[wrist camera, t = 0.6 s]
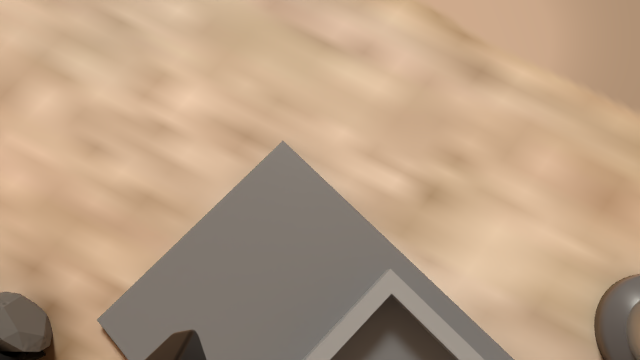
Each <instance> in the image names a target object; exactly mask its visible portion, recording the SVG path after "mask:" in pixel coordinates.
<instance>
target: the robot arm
mask: <svg viewBox="0 0 640 360" xmlns="http://www.w3.org/2000/svg"><path fill="white" fill-rule="evenodd" d="M145 360H207V359H206V356H205V353H204V350H203V347H202V344H201V341H200V338H199V336H198V334H197V332H196V331H195V330H193V329H191V330H186V331H180V332H175V333H173V334H172V335H170V336H169V337H168V338H167V339H166V340H165V341H164V342H163V343H162V344H161V345H160V346H159V347H158V348H157V349H156V350H154V351H153V352H152V353H151V354H150V355H149V356H148V357H147V358H146V359H145Z"/></svg>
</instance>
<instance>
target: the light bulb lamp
mask: <svg viewBox="0 0 640 360" xmlns="http://www.w3.org/2000/svg"><path fill="white" fill-rule="evenodd" d="M594 328H595V336H596V341H597V344H598V347H599V350H600V352H601V355H602V357H603V359H604V360H640V274H637V275H632V276H629V277H626V278H623V279H621V280H619V281H618V282H616V283H615V284H613V285H612V286H611V287H610V288H609V289H608V290H607V291H606V292H605V293H604V295H603V296H602V298H601V300H600V302H599V304H598V307H597V310H596V314H595V324H594Z"/></svg>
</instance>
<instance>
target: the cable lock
mask: <svg viewBox="0 0 640 360" xmlns="http://www.w3.org/2000/svg"><path fill="white" fill-rule="evenodd" d="M52 334H53V333H52V328H51V324H50V322H49V319H48V316H47V314H46V313H45V312H44V311H43V310H42V309H41V308H40V307H39V306H38V305H37V304H35V303H34V302H32V301H30V300H29V299H27V298H26V297H24V296H22V295H21V294H17V293H10V292H2V293H0V360H37V359H39V358H41V357H43V356H44V355H45V353H44V351H43V349H45V348H47V347H49V346H50V343H51V338H52Z"/></svg>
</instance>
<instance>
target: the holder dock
mask: <svg viewBox="0 0 640 360" xmlns="http://www.w3.org/2000/svg"><path fill="white" fill-rule="evenodd" d="M97 321H98V322H99V323H100V325H101V326H102V327H103V328H104V330H105V331H106V332H107V334H108V335H109V336H110V337H111V339H112V340H113V341H114V342H115V344H116V345H117V346H118V347H119V349H120V350H121V351H122V352H123V354H124V355H125V356H126V358H127V359H128V360H145V359H146V358H147V357H148V356H149V355H150V354H151V353H152V352H153V351H154V350H156V349H157V348H158V347H159V346H160V345H161V344H162V343H163V342H164V341H165V340H166V339H167V338H168V337H169V336H170V335H172V334H173V333H175V332H180V331H186V330H191V329H193V330H195V331H196V332H197V334H198V336H199V338H200V341H201V344H202V347H203V350H204V353H205V356H206V359H207V360H514V359H513V358H512V357H511V356H510V355H509V354H508V353H507V352H505V351H504V350H503V349H502V348H501V347H500V346H499V345H498V344H497V343H496V342H495V341H494V340H493V339H492V338H491V337H490V336H489V335H488V334H486V333H485V332H484V331H483V330H482V329H481V328H480V327H479V326H478V325H477V324H476V323H475V322H474V321H473V320H472V319H471V318H470V317H469V316H467V315H466V314H465V313H464V312H463V311H462V310H461V309H460V308H459V307H458V306H457V305H456V304H455V303H454V302H453V301H452V300H451V299H450V298H448V297H447V296H446V295H445V294H444V293H443V292H442V291H441V290H440V289H439V288H438V287H437V286H436V285H435V284H434V283H433V282H432V281H431V280H429V279H428V278H427V277H426V276H425V275H424V274H423V273H422V272H421V271H420V270H419V269H418V268H417V267H416V266H415V265H414V264H413V263H412V262H410V261H409V260H408V259H407V258H406V257H405V256H404V255H403V254H402V253H401V252H400V251H399V250H398V249H397V248H396V247H395V246H394V245H393V244H391V243H390V242H389V241H388V240H387V239H386V238H385V237H384V236H383V235H382V234H381V233H380V232H379V231H378V230H377V229H376V228H375V227H374V226H372V225H371V224H370V223H369V222H368V221H367V220H366V219H365V218H364V217H363V216H362V215H361V214H360V213H359V212H358V211H357V210H356V209H355V208H353V207H352V206H351V205H350V204H349V203H348V202H347V201H346V200H345V199H344V198H343V197H342V196H341V195H340V194H339V193H338V192H337V191H336V190H334V189H333V188H332V187H331V186H330V185H329V184H328V183H327V182H326V181H325V180H324V179H323V178H322V177H321V176H320V175H319V174H318V173H317V172H315V171H314V170H313V169H312V168H311V167H310V166H309V165H308V164H307V163H306V162H305V161H304V160H303V159H302V158H301V157H300V156H299V155H298V154H296V153H295V152H294V151H293V150H292V149H291V148H290V147H289V146H288V145H287V144H286V143H285V142H284V141H282V142H281V143H280V144H279V145H278V146H277V147H276V148H275V149H274V150H273V151H272V152H271V153H270V154H269V155H268V156H267V157H265V158H264V159H263V160H262V161H261V162H260V163H259V164H258V165H257V166H256V167H255V168H254V169H253V170H252V171H251V172H250V173H249V174H248V175H247V176H246V177H245V178H244V179H243V180H242V181H241V182H240V183H238V184H237V185H236V186H235V187H234V188H233V189H232V190H231V191H230V192H229V193H228V194H227V195H226V196H225V197H224V198H223V199H222V200H221V201H220V202H219V203H218V204H217V205H216V206H215V207H214V208H213V209H211V210H210V211H209V212H208V213H207V214H206V215H205V216H204V217H203V218H202V219H201V220H200V221H199V222H198V223H197V224H196V225H195V226H194V227H193V228H192V229H191V230H190V231H189V232H188V233H187V234H186V235H184V236H183V237H182V238H181V239H180V240H179V241H178V242H177V243H176V244H175V245H174V246H173V247H172V248H171V249H170V250H169V251H168V252H167V253H166V254H165V255H164V256H163V257H162V258H161V259H160V260H159V261H157V262H156V263H155V264H154V265H153V266H152V267H151V268H150V269H149V270H148V271H147V272H146V273H145V274H144V275H143V276H142V277H141V278H140V279H139V280H138V281H137V282H136V283H135V284H134V285H133V286H132V287H130V288H129V289H128V290H127V291H126V292H125V293H124V294H123V295H122V296H121V297H120V298H119V299H118V300H117V301H116V302H115V303H114V304H113V305H112V306H111V307H110V308H109V309H108V310H107V311H106V312H105V313H103V314H102V315H101V316H100V317H99V318H98V319H97Z"/></svg>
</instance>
